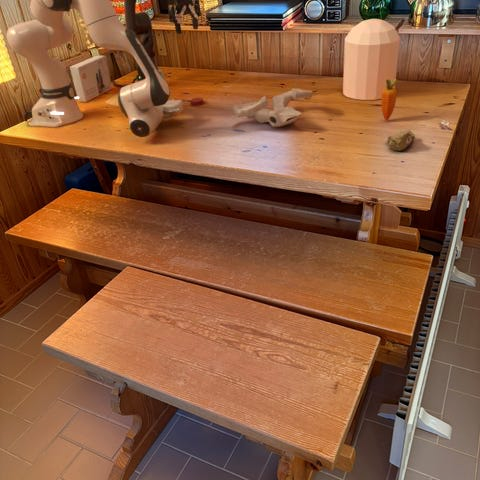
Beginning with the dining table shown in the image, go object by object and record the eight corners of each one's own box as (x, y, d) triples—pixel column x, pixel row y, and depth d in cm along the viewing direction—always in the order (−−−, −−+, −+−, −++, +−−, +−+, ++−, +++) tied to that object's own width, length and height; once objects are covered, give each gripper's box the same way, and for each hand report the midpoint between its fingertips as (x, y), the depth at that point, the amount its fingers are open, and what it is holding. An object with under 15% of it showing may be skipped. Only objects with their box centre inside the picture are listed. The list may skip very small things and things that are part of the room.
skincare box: (87, 102, 214) (77, 67, 204) (78, 102, 215) (68, 66, 206) (113, 88, 229) (105, 54, 220) (104, 88, 231) (96, 54, 222)
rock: (408, 140, 153) (379, 139, 152) (414, 122, 149) (384, 120, 148) (421, 154, 144) (391, 153, 143) (428, 135, 140) (396, 133, 139)
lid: (199, 106, 197) (199, 102, 196) (188, 105, 199) (188, 101, 198) (206, 101, 201) (205, 98, 200) (195, 100, 203) (194, 97, 202)
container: (363, 103, 182) (369, 26, 166) (332, 90, 198) (334, 19, 182) (405, 92, 188) (414, 17, 172) (372, 81, 205) (377, 11, 189)
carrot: (394, 118, 167) (398, 76, 158) (393, 123, 163) (397, 80, 154) (379, 117, 168) (383, 75, 160) (378, 122, 165) (382, 80, 156)
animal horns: (230, 133, 167) (227, 101, 161) (244, 110, 188) (241, 81, 182) (308, 133, 161) (308, 99, 155) (313, 109, 182) (314, 78, 176)
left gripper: (177, 103, 171) (185, 91, 182) (125, 106, 174) (136, 94, 185) (180, 120, 175) (188, 107, 186) (128, 122, 178) (139, 109, 189)
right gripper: (189, -18, 180) (194, 27, 190) (160, -13, 172) (167, 34, 182) (201, -18, 176) (207, 28, 185) (172, -12, 168) (179, 35, 177)
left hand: (161, 101), depth 186 cm, fingers open, 8 cm apart
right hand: (187, 31), depth 183 cm, fingers open, 8 cm apart
